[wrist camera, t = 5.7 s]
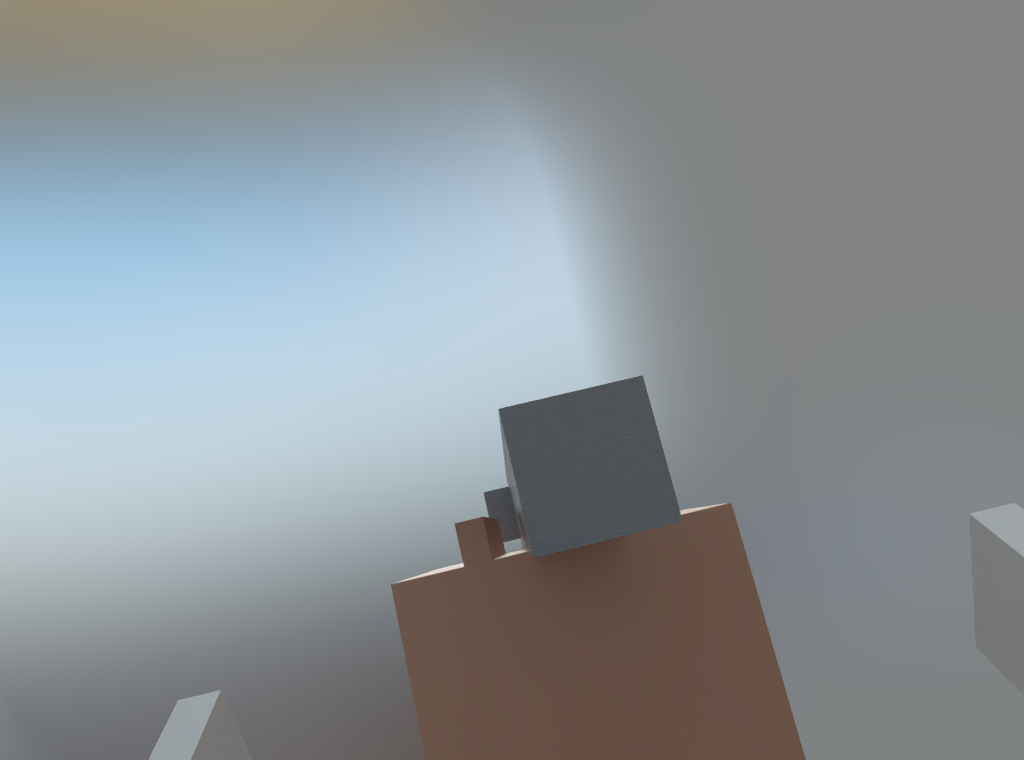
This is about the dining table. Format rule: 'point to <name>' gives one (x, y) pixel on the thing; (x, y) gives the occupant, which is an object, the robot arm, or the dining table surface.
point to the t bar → (582, 469)
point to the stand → (597, 649)
